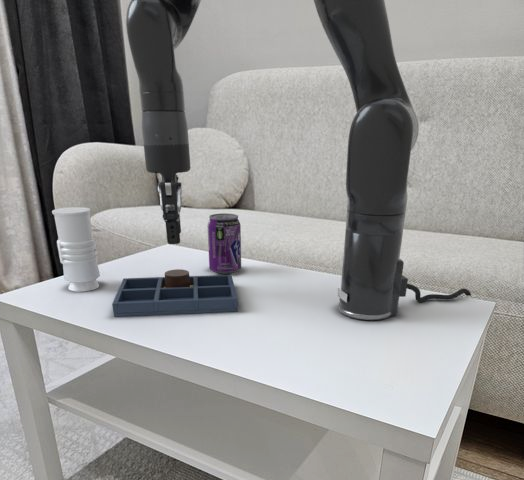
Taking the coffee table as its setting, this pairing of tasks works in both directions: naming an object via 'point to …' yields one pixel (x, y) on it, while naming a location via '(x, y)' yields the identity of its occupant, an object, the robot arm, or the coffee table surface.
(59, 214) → the white ribbed cylinder
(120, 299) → the grey compartment tray
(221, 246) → the beverage can
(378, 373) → the coffee table surface
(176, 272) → the brown cylindrical piece
